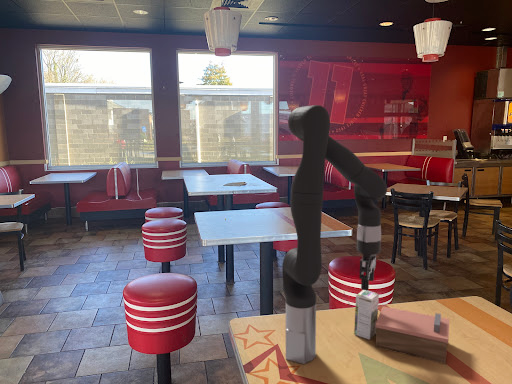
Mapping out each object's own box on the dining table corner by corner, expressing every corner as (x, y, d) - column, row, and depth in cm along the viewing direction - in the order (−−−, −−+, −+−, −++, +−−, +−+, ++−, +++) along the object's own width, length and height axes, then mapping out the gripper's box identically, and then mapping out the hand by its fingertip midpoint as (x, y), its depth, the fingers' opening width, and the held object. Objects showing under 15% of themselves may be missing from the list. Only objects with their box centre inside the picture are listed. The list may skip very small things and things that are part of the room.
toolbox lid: (448, 343, 111) (449, 331, 110) (375, 327, 120) (375, 316, 120) (449, 322, 123) (449, 312, 122) (382, 309, 132) (383, 299, 132)
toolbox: (445, 363, 112) (447, 343, 111) (375, 346, 122) (376, 328, 120) (446, 342, 124) (448, 323, 123) (382, 328, 133) (383, 310, 132)
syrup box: (361, 328, 133) (362, 288, 131) (377, 333, 130) (379, 293, 127) (353, 334, 129) (355, 294, 127) (370, 340, 125) (372, 299, 123)
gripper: (362, 231, 132) (360, 275, 134) (352, 242, 119) (351, 291, 122) (384, 233, 128) (383, 279, 131) (376, 245, 116) (375, 295, 119)
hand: (367, 284), depth 127 cm, fingers open, 8 cm apart
